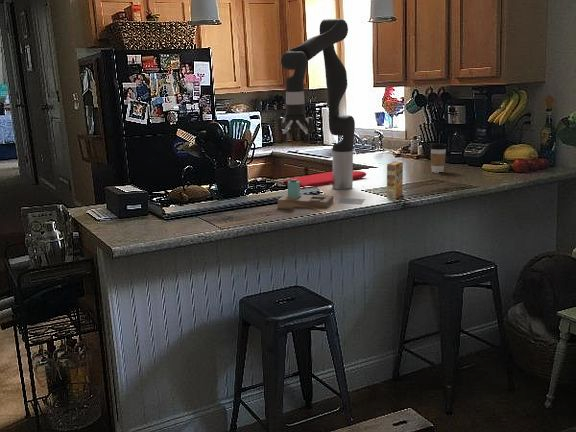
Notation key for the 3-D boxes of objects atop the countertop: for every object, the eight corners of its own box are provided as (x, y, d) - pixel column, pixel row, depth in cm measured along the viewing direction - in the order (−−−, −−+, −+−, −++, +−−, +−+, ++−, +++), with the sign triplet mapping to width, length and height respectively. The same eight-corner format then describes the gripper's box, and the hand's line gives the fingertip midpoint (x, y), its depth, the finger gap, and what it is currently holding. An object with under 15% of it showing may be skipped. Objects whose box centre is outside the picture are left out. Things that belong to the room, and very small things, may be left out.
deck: (341, 200, 268) (341, 198, 268) (365, 201, 265) (365, 199, 265) (336, 205, 259) (336, 203, 258) (361, 206, 256) (361, 204, 256)
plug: (290, 204, 262) (290, 178, 259) (299, 204, 261) (299, 178, 258) (287, 206, 258) (287, 180, 256) (297, 207, 257) (297, 180, 255)
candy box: (395, 200, 266) (396, 164, 262) (385, 200, 268) (386, 163, 264) (402, 197, 273) (403, 161, 270) (393, 196, 276) (394, 160, 272)
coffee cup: (426, 171, 335) (427, 142, 331) (440, 170, 337) (441, 142, 334) (434, 173, 327) (435, 144, 324) (448, 172, 330) (450, 144, 326)
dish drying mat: (282, 184, 306) (282, 177, 305) (345, 175, 330) (345, 168, 329) (302, 189, 294) (302, 181, 293) (367, 179, 318) (367, 172, 317)
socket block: (286, 201, 267) (286, 192, 266) (332, 204, 261) (333, 195, 260) (277, 208, 255) (277, 198, 254) (326, 210, 250) (326, 201, 249)
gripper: (314, 101, 257) (315, 141, 262) (280, 102, 261) (282, 141, 265) (310, 103, 250) (311, 144, 255) (275, 103, 254) (276, 144, 258)
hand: (296, 142), depth 260 cm, fingers open, 8 cm apart
